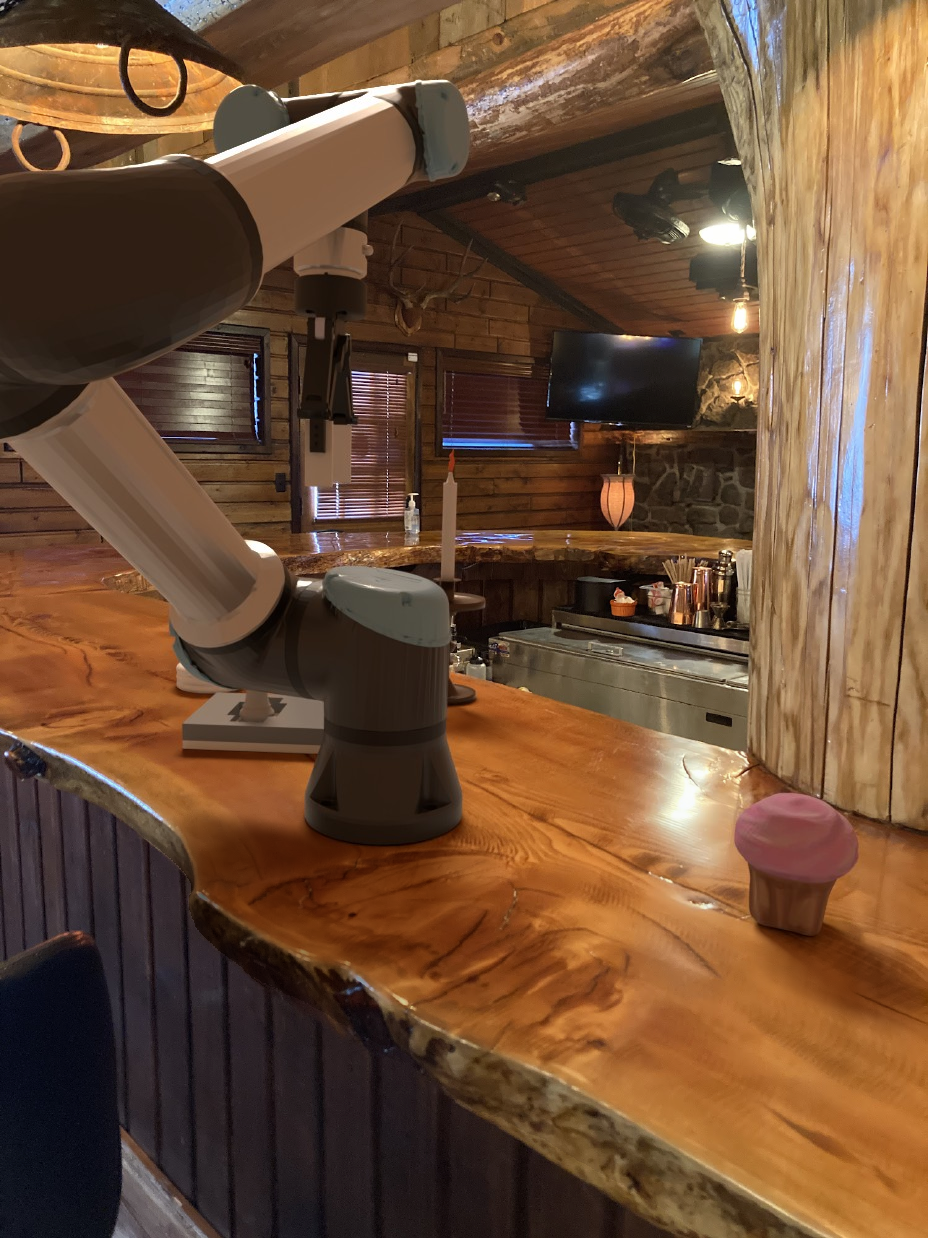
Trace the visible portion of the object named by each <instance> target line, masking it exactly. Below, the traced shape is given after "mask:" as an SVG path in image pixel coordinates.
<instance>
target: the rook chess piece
mask: <svg viewBox="0 0 928 1238" xmlns="http://www.w3.org/2000/svg"><path fill="white" fill-rule="evenodd" d="M245 693H246V698H245V703H244V704H243V706H242V707H243V708H242V709H241V710H240V713H239V716H240V717H241V719H240V720H239V722H259V723H264V721H265V720H266V719H267V718H268V717H273V716H274V715H275V712H274V710H273V709H272V708H271V704H270V703H269V699H268V694H269V693H266V692H259V691H252V690H245Z"/></svg>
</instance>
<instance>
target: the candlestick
mask: <svg viewBox="0 0 928 1238" xmlns="http://www.w3.org/2000/svg"><path fill="white" fill-rule="evenodd" d="M454 453H455V450H454V449H452V451H451V453H450V454H449V460H450V461H448V467H447V468H448V471H449V472H448V476H447V479H446V482H443V488H442V489H443V490H442V493H443V495H442V525H441V526H442V527H441V535H442V536H441V557H440V558H441V562H440V563H441V567H440V569H441V570H440V577H436V578H433V580H434V581H437V582H439V587H441V588H442V589H443V590H444V592H445V593H446V595H447V598H448V602H449V621H450V629H451V626H452V617H453V616H457V613H460V612H473V611H479V610H482V609H485V608H486V598H485V597H484V596H481V595H477V594H473V593H465V592H455V586H456V585H455V583H456V582H461V581H462V579H460V578H456V577H455V568H456V567H455V563H456V561H455V559H456V558H455V557H456V531H457V530H456V529H457V524H456V523H457V502H458V501H457V500H458V499H457V497H458V482H455V480H454V476H453V475H454V473H453V471H454V467H455V461H456V460H455V456H454ZM455 649H456V643H454V642H453V641H452V640H450V647H449V673H448V698H447V707H448V706H460V705H466V704H469V703H473V702H474V701H475V700H476V690H475V689H474V688H472V687H470V686H467V685H464V684H459V683H458V684H457V683H453V681H452V680H451V677H450V668H451V666H453V665H454V661H453V660H451V654H452V653H454V651H455Z"/></svg>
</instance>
